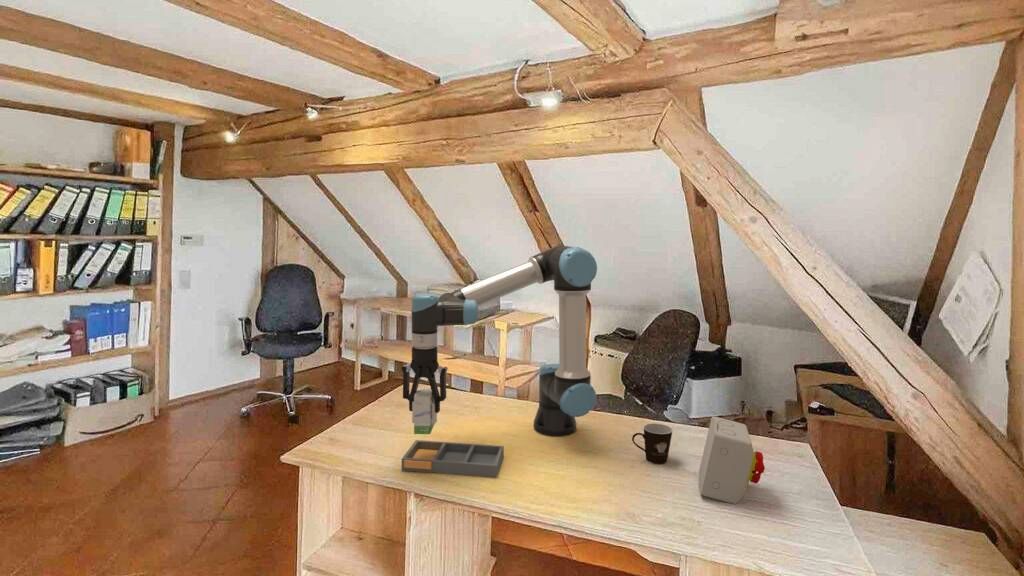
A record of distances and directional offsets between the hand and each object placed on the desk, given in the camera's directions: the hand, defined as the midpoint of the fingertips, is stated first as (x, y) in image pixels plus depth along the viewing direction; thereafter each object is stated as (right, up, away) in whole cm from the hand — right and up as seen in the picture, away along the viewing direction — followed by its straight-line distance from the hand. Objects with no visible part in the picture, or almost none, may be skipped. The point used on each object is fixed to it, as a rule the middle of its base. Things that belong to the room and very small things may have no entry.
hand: (424, 421), depth 167 cm
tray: (+9, -13, 0) cm, 15 cm away
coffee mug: (+70, -13, +6) cm, 71 cm away
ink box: (0, -3, 0) cm, 3 cm away
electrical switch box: (+86, -16, -14) cm, 89 cm away
